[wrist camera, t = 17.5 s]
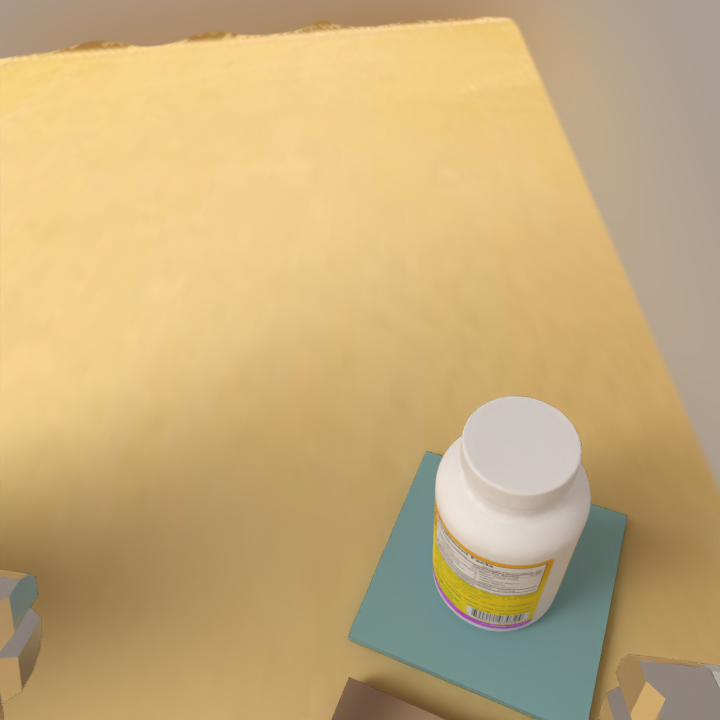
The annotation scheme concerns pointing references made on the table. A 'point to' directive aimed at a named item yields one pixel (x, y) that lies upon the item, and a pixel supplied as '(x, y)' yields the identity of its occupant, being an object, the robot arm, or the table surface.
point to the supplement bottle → (508, 513)
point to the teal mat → (484, 647)
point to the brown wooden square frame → (375, 705)
